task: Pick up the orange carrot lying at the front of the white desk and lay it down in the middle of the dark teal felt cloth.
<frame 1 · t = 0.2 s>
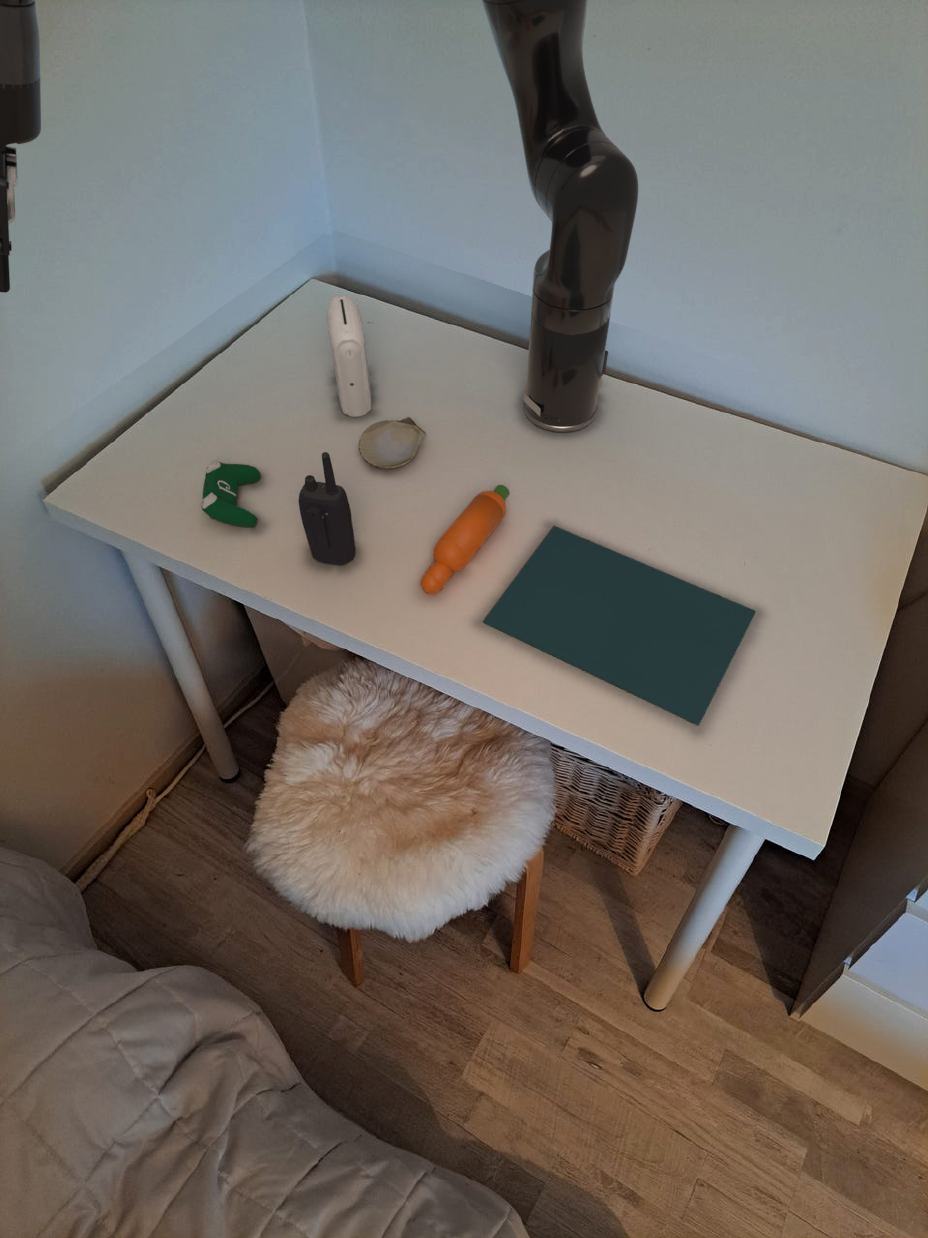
gaming controller: (235, 505, 99), on the table
cloth: (619, 617, 88), on the table
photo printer: (354, 394, 111), on the table
carrot: (470, 542, 95), on the table
two-way radio: (332, 559, 93), on the table
seashell: (393, 453, 104), on the table
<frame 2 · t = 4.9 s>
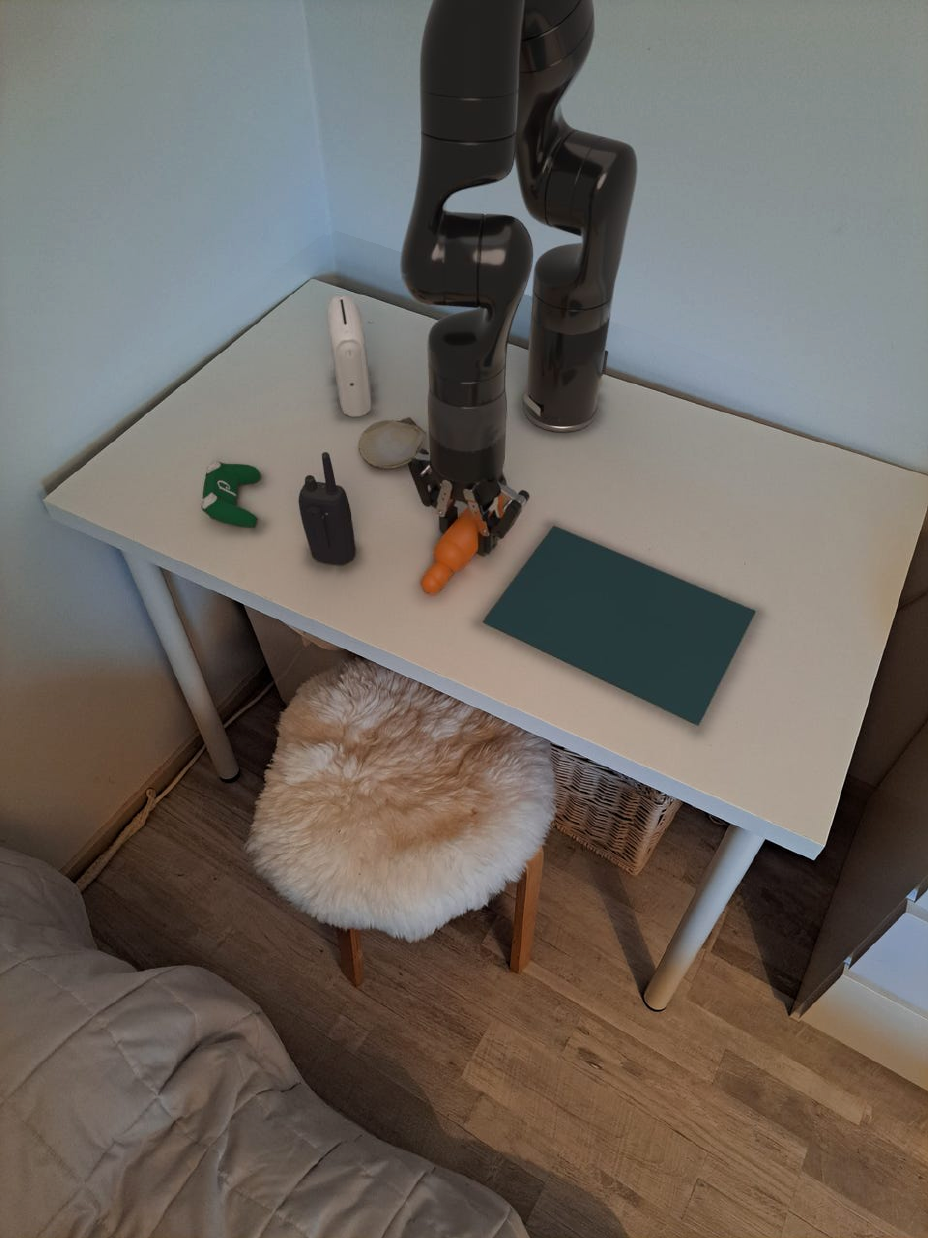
hand: (467, 542, 94), 1 cm above the table, tool pointing down, fingers closed on carrot, 4 cm apart
carrot: (470, 542, 95), on the table, touching gripper
everything else where it was.
when the fingers open (1 cm above the table, at t = 11.6 s): carrot stays where it is, resting on cloth.
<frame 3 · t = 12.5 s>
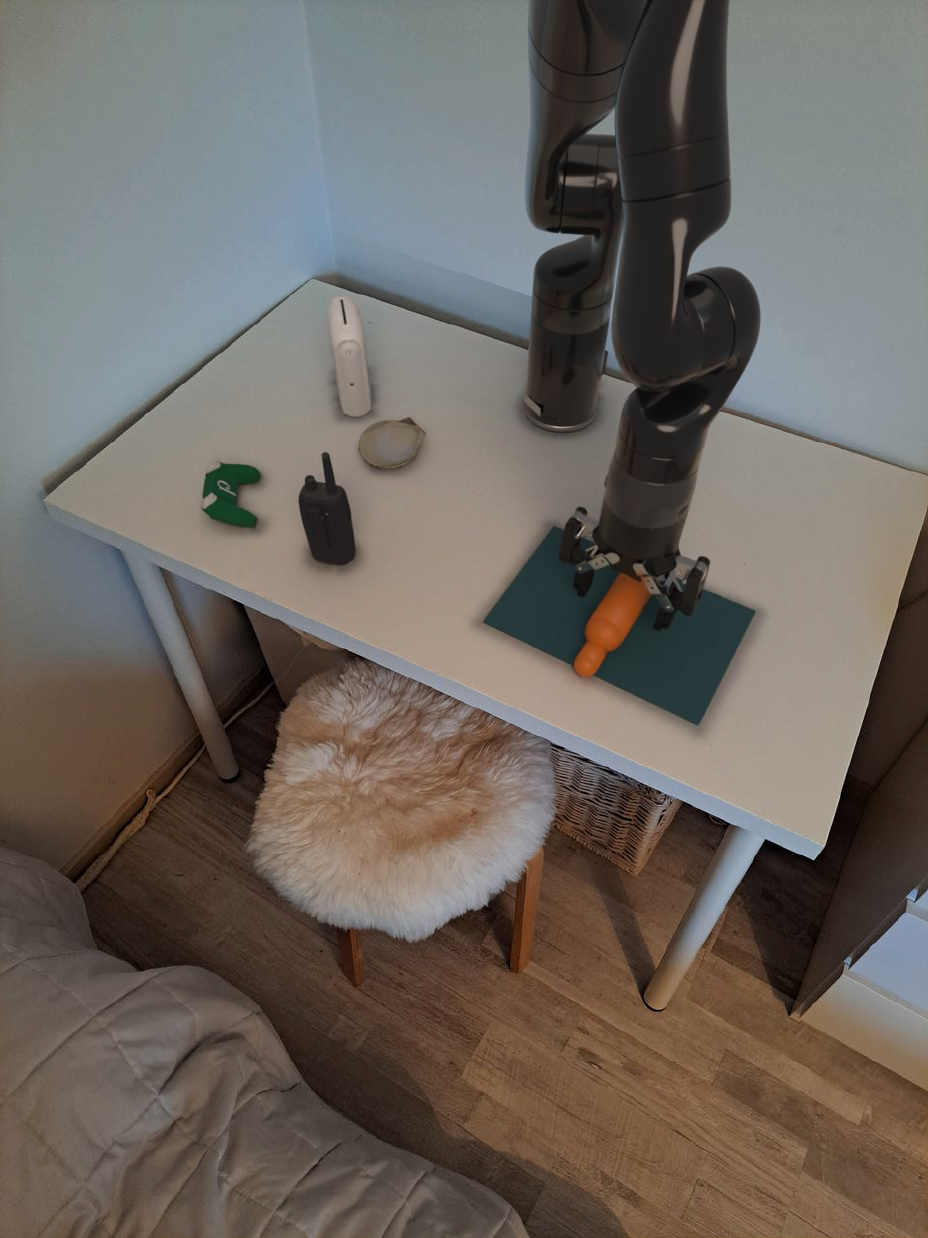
hand: (621, 607, 86), 2 cm above the table, tool pointing down, fingers open, 8 cm apart
carrot: (618, 617, 88), resting on cloth
everything else where it was.
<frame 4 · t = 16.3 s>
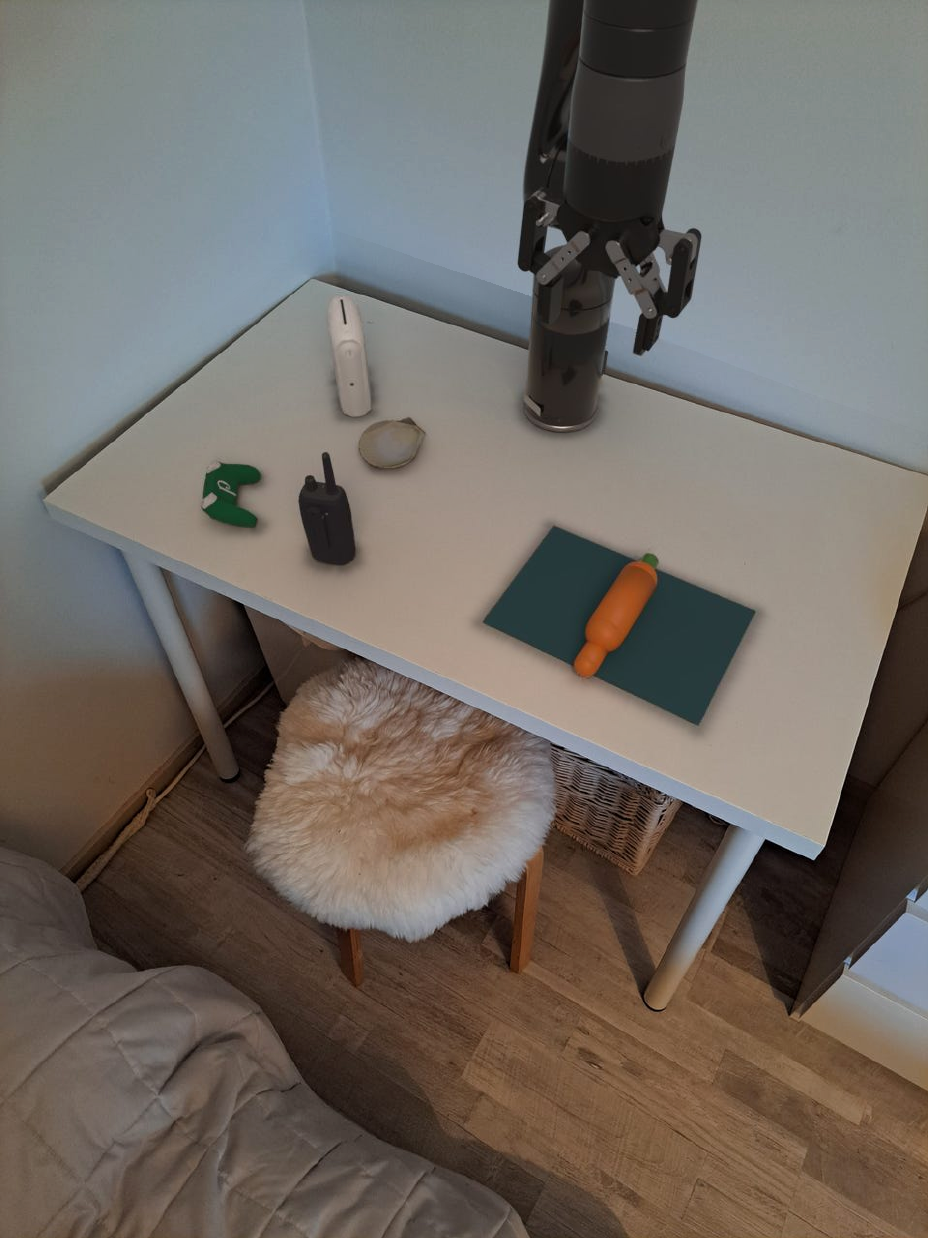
hand: (594, 334, 71), 28 cm above the table, tool pointing down, fingers open, 8 cm apart
nothing on the table moved.
at the end: carrot inside the target area on the cloth (0.2 cm from its centre), point 0.3 cm above the cloth's base; carrot touching cloth; the gripper is holding nothing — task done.
